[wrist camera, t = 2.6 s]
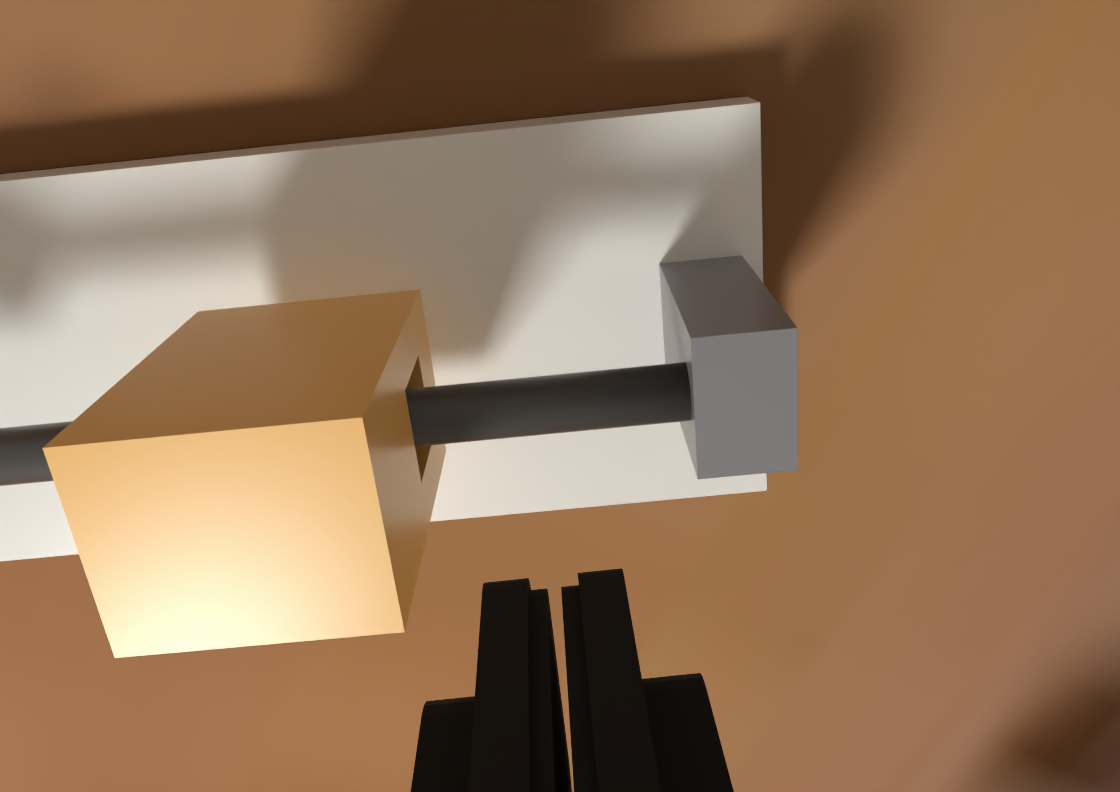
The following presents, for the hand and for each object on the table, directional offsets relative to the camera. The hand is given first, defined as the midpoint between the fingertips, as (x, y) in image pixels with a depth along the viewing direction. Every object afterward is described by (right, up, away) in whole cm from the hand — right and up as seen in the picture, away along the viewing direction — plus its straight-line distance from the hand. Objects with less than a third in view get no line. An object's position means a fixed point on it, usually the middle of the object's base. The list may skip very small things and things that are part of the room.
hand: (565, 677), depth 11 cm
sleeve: (-5, +4, +10) cm, 12 cm away
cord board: (-8, +5, +14) cm, 17 cm away
